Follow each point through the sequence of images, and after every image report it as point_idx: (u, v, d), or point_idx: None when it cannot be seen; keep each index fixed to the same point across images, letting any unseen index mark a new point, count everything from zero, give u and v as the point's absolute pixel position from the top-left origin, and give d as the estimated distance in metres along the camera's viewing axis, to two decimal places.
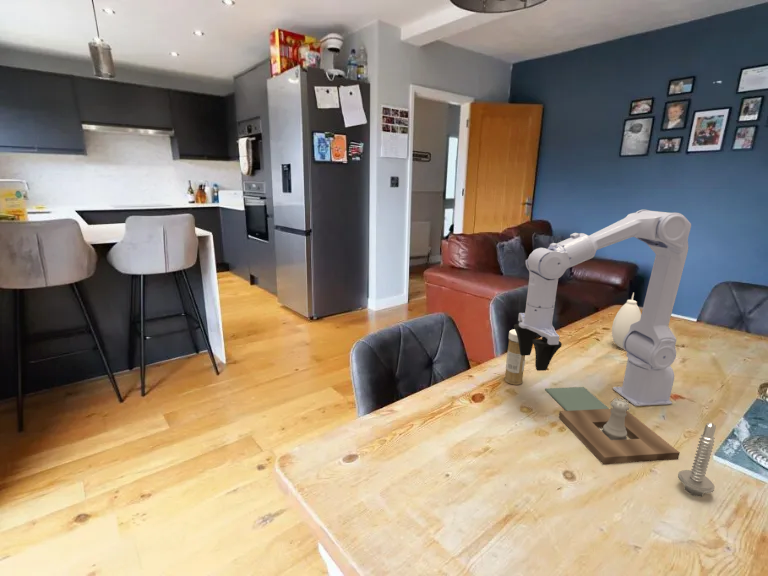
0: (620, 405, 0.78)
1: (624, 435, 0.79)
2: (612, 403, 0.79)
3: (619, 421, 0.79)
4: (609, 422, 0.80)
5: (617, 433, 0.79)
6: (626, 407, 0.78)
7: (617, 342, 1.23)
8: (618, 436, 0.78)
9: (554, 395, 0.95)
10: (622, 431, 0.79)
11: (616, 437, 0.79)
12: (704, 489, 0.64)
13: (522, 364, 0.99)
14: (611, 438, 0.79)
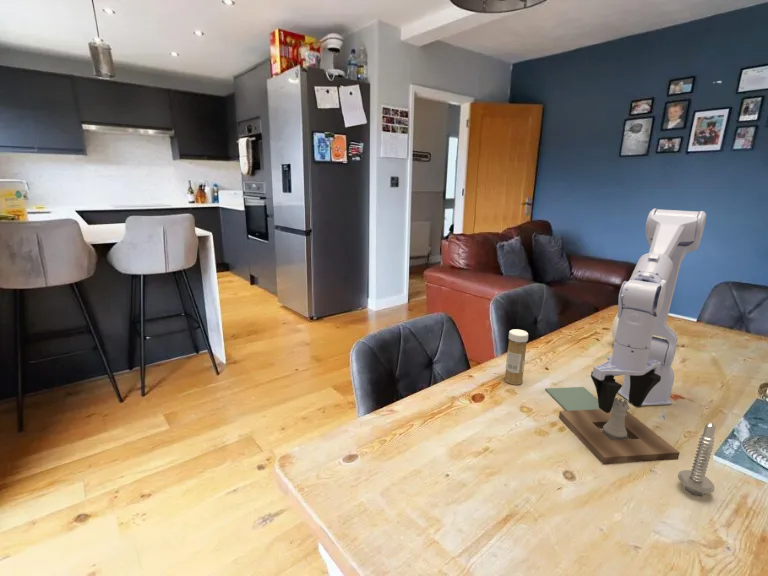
0: (620, 405, 0.78)
1: (624, 435, 0.79)
2: None
3: (620, 421, 0.79)
4: (609, 422, 0.80)
5: (617, 433, 0.79)
6: (626, 407, 0.78)
7: None
8: (618, 436, 0.78)
9: (554, 395, 0.95)
10: (622, 431, 0.79)
11: (616, 437, 0.79)
12: (704, 489, 0.64)
13: (522, 364, 0.99)
14: (611, 438, 0.79)
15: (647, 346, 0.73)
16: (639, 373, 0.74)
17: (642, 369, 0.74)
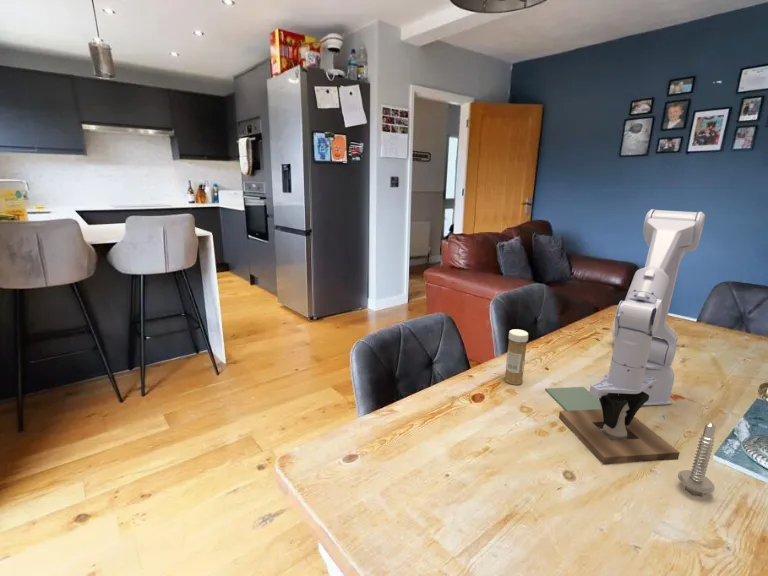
0: None
1: (624, 435, 0.79)
2: None
3: (620, 420, 0.79)
4: None
5: (617, 433, 0.79)
6: (626, 407, 0.78)
7: None
8: (618, 436, 0.78)
9: (554, 395, 0.95)
10: (622, 431, 0.79)
11: (616, 437, 0.79)
12: (704, 489, 0.64)
13: (522, 364, 0.99)
14: (611, 438, 0.79)
15: (643, 365, 0.74)
16: (635, 391, 0.75)
17: (638, 387, 0.75)
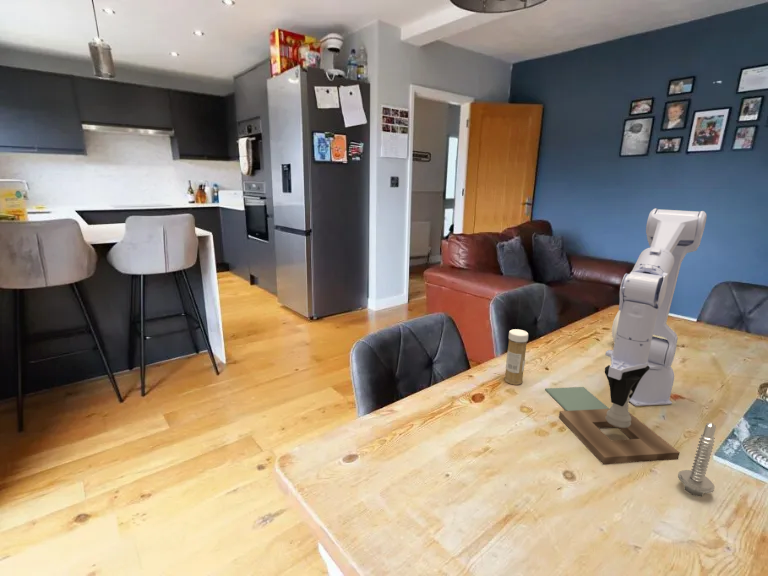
0: None
1: (630, 418, 0.78)
2: None
3: (626, 405, 0.78)
4: (615, 409, 0.78)
5: (625, 418, 0.77)
6: None
7: None
8: (627, 421, 0.77)
9: (554, 395, 0.95)
10: (628, 415, 0.78)
11: (625, 422, 0.77)
12: (704, 489, 0.64)
13: (522, 364, 0.99)
14: (621, 425, 0.78)
15: (649, 339, 0.73)
16: (646, 365, 0.74)
17: (647, 360, 0.74)
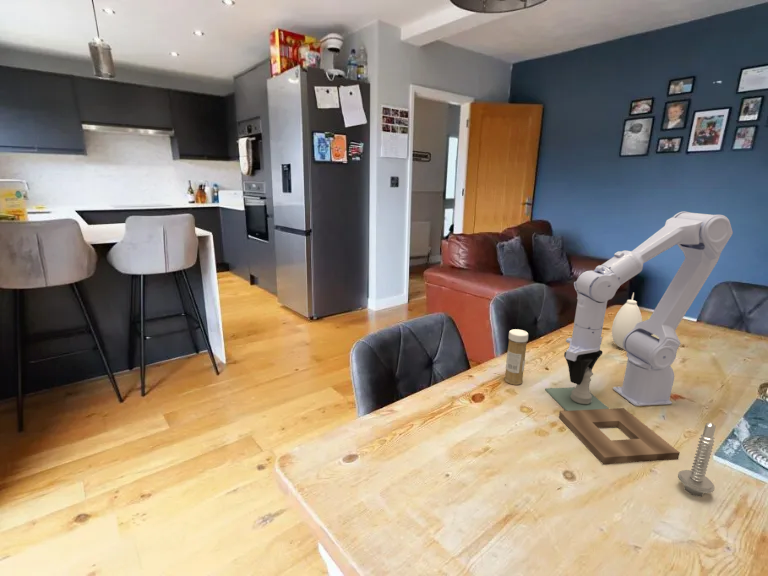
0: (588, 371, 0.90)
1: (591, 396, 0.92)
2: None
3: (587, 385, 0.91)
4: (578, 388, 0.92)
5: (586, 396, 0.91)
6: (591, 372, 0.91)
7: (617, 342, 1.23)
8: (587, 398, 0.91)
9: (554, 395, 0.95)
10: (589, 393, 0.92)
11: (586, 400, 0.91)
12: (704, 489, 0.64)
13: (522, 364, 0.99)
14: (582, 402, 0.91)
15: (591, 327, 0.87)
16: (597, 349, 0.88)
17: (598, 345, 0.89)
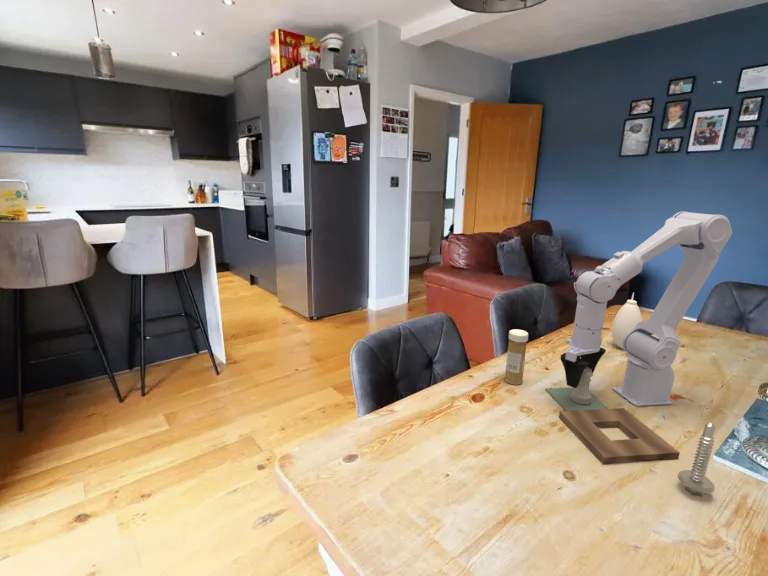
0: (587, 372, 0.90)
1: (591, 397, 0.92)
2: None
3: (587, 385, 0.91)
4: (578, 389, 0.92)
5: (586, 397, 0.91)
6: (591, 373, 0.91)
7: (617, 342, 1.23)
8: (587, 399, 0.91)
9: (554, 395, 0.95)
10: (589, 394, 0.92)
11: (586, 400, 0.91)
12: (704, 489, 0.64)
13: (522, 364, 0.99)
14: (582, 402, 0.91)
15: (590, 328, 0.87)
16: (597, 350, 0.88)
17: (598, 346, 0.89)
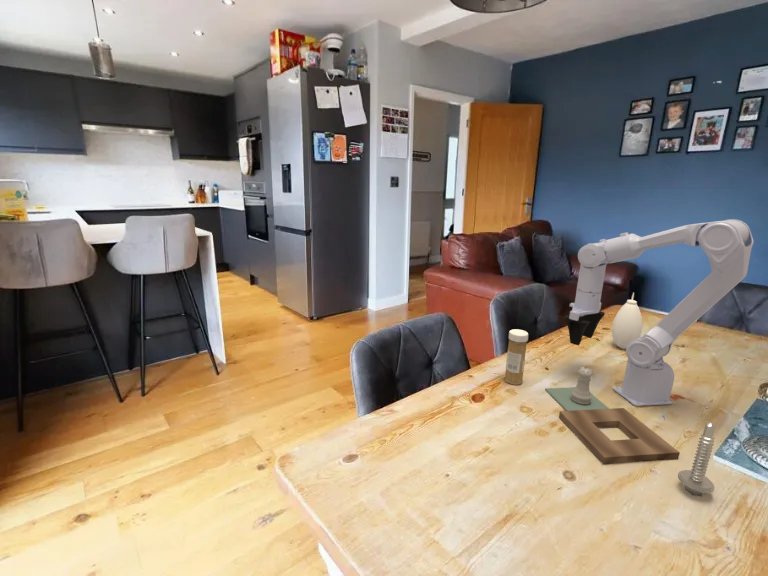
0: (587, 372, 0.90)
1: (591, 397, 0.92)
2: (580, 372, 0.91)
3: (587, 385, 0.91)
4: (578, 389, 0.92)
5: (586, 397, 0.91)
6: (591, 373, 0.91)
7: (617, 342, 1.23)
8: (587, 399, 0.91)
9: (554, 395, 0.95)
10: (589, 394, 0.92)
11: (586, 400, 0.91)
12: (704, 489, 0.64)
13: (522, 364, 0.99)
14: (582, 402, 0.91)
15: (580, 289, 1.01)
16: (597, 311, 1.00)
17: (598, 308, 1.01)
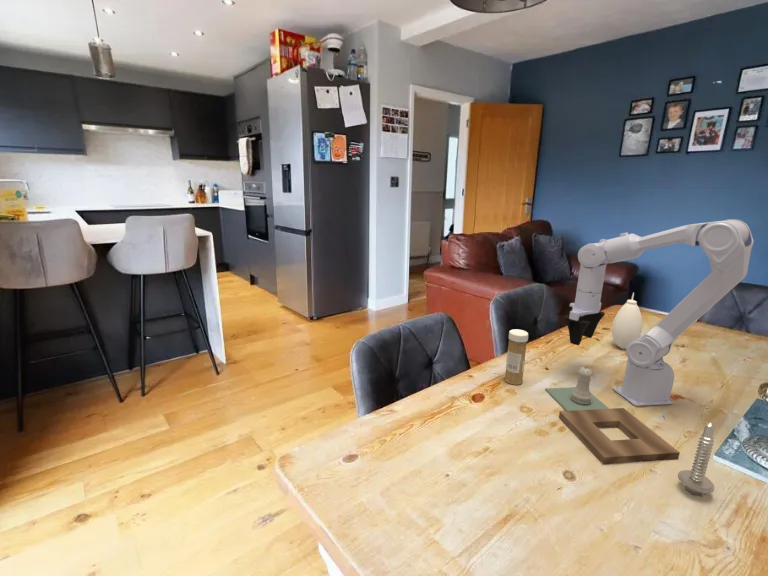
0: (587, 372, 0.90)
1: (591, 397, 0.92)
2: (580, 372, 0.91)
3: (587, 385, 0.91)
4: (578, 389, 0.92)
5: (586, 397, 0.91)
6: (591, 373, 0.91)
7: (617, 342, 1.23)
8: (587, 399, 0.91)
9: (554, 395, 0.95)
10: (589, 394, 0.92)
11: (586, 400, 0.91)
12: (704, 489, 0.64)
13: (522, 364, 0.99)
14: (582, 402, 0.91)
15: (580, 289, 1.01)
16: (597, 311, 1.00)
17: (598, 308, 1.01)
